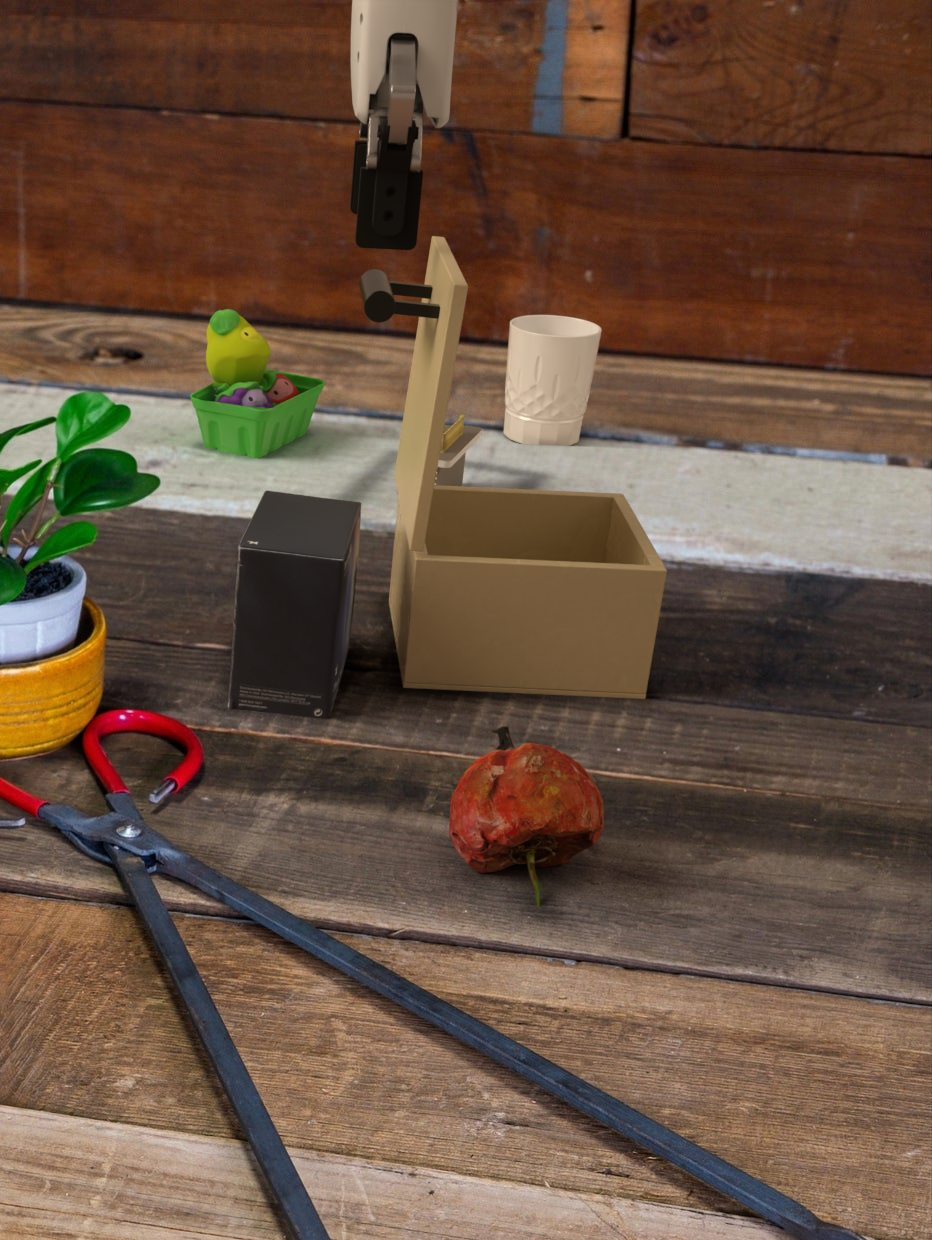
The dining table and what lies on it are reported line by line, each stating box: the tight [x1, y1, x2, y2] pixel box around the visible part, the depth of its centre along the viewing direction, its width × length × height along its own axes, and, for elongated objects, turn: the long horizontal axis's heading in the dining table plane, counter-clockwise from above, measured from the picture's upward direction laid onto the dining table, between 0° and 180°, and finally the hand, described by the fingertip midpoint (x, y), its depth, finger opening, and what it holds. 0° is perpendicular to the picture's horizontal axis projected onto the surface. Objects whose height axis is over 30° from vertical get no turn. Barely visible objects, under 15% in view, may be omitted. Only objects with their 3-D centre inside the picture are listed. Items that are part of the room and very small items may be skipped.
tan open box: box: [388, 484, 668, 700], centre depth 106 cm, size 15×14×9 cm
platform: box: [435, 414, 483, 486], centre depth 132 cm, size 12×18×7 cm, turn 157°
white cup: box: [503, 314, 603, 447], centre depth 148 cm, size 8×8×10 cm
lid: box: [358, 235, 469, 552], centre depth 100 cm, size 15×14×5 cm
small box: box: [226, 490, 362, 720], centre depth 100 cm, size 11×6×10 cm, turn 170°
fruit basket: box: [189, 308, 326, 459], centre depth 143 cm, size 11×9×11 cm
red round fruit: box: [448, 725, 605, 908], centre depth 82 cm, size 7×7×10 cm
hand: (381, 230), depth 93 cm, fingers open, 9 cm apart
